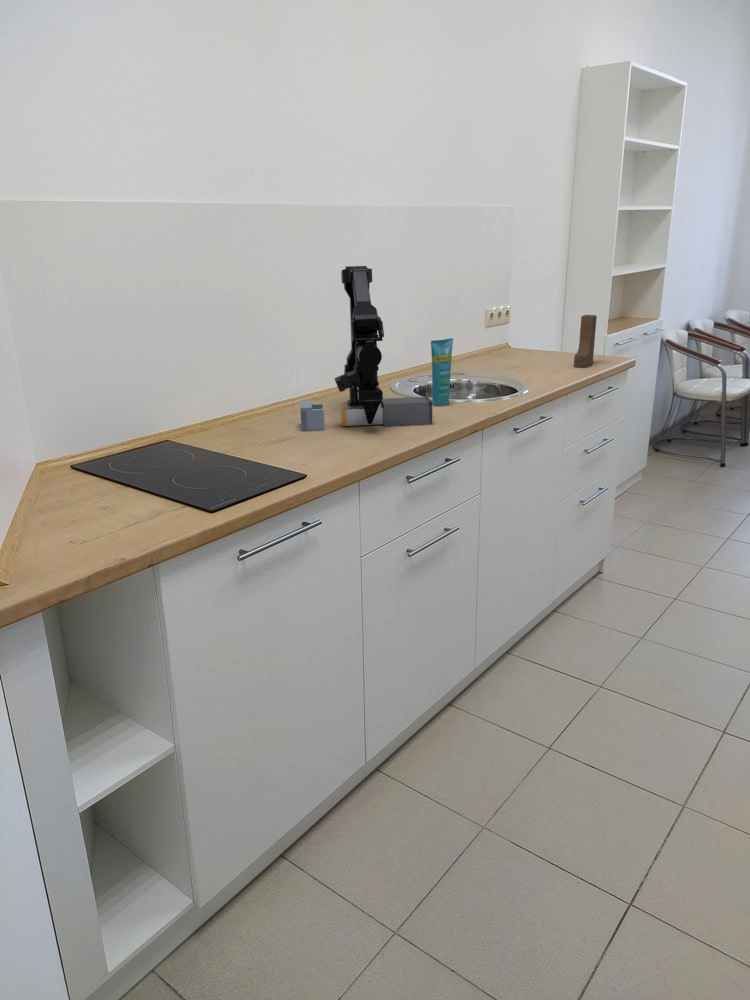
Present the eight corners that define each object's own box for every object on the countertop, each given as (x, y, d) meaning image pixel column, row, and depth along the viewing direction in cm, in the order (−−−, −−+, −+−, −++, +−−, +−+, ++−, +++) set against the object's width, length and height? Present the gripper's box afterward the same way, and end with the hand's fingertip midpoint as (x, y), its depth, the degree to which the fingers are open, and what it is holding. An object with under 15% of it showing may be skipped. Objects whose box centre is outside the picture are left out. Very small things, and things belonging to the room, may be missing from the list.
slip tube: (341, 422, 200) (340, 406, 198) (421, 418, 202) (421, 402, 201) (342, 426, 196) (341, 409, 195) (423, 422, 198) (424, 405, 197)
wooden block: (585, 368, 268) (589, 317, 262) (573, 367, 271) (576, 317, 264) (593, 364, 275) (597, 315, 269) (581, 363, 278) (584, 314, 271)
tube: (436, 407, 215) (436, 341, 209) (426, 404, 219) (426, 339, 212) (455, 403, 219) (457, 338, 212) (445, 401, 223) (446, 336, 216)
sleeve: (381, 420, 203) (380, 398, 200) (427, 417, 204) (427, 396, 202) (384, 426, 196) (383, 404, 194) (432, 424, 197) (432, 402, 195)
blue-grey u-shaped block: (301, 423, 201) (299, 401, 199) (323, 422, 201) (322, 400, 199) (301, 431, 193) (300, 407, 191) (324, 429, 194) (323, 406, 192)
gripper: (333, 357, 201) (335, 412, 206) (338, 369, 184) (340, 429, 189) (374, 355, 202) (375, 411, 208) (382, 367, 185) (383, 427, 190)
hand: (367, 419), depth 199 cm, fingers open, 9 cm apart
